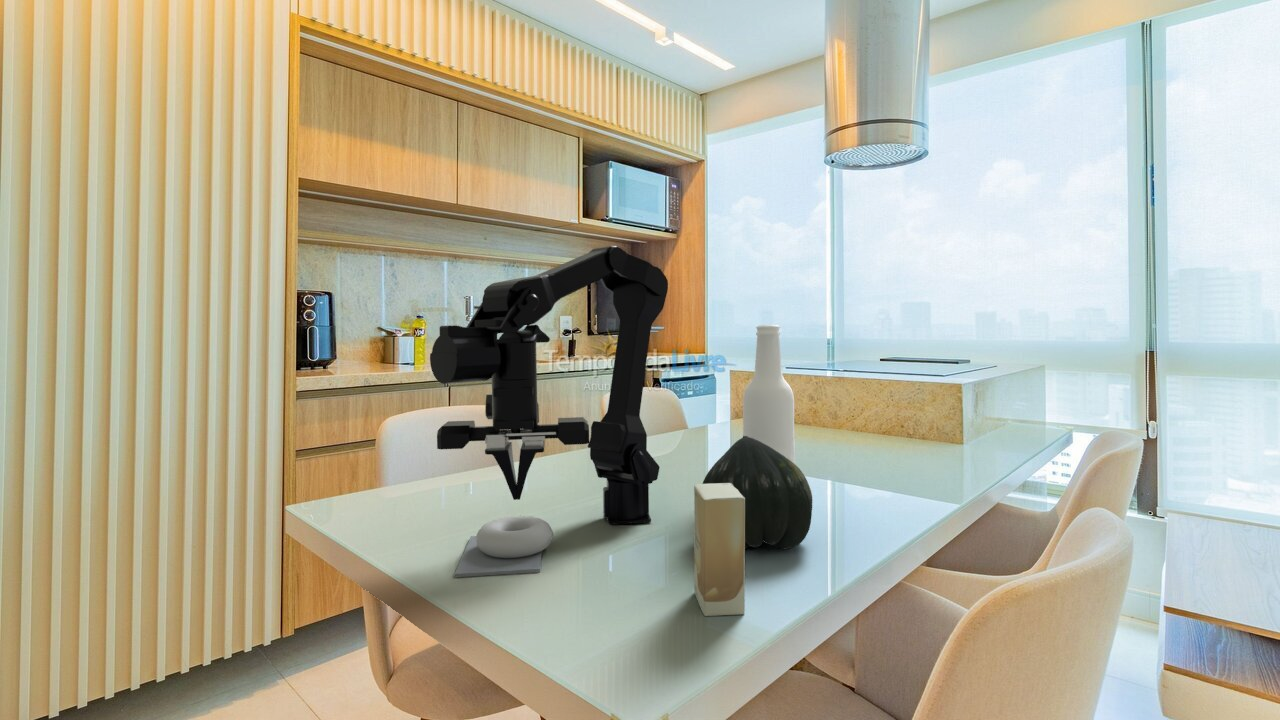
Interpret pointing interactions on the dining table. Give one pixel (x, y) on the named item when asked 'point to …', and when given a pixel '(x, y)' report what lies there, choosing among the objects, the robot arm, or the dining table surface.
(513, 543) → the donut
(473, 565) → the mat
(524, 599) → the dining table surface
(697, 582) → the skincare box
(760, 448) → the squash
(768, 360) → the alcohol
